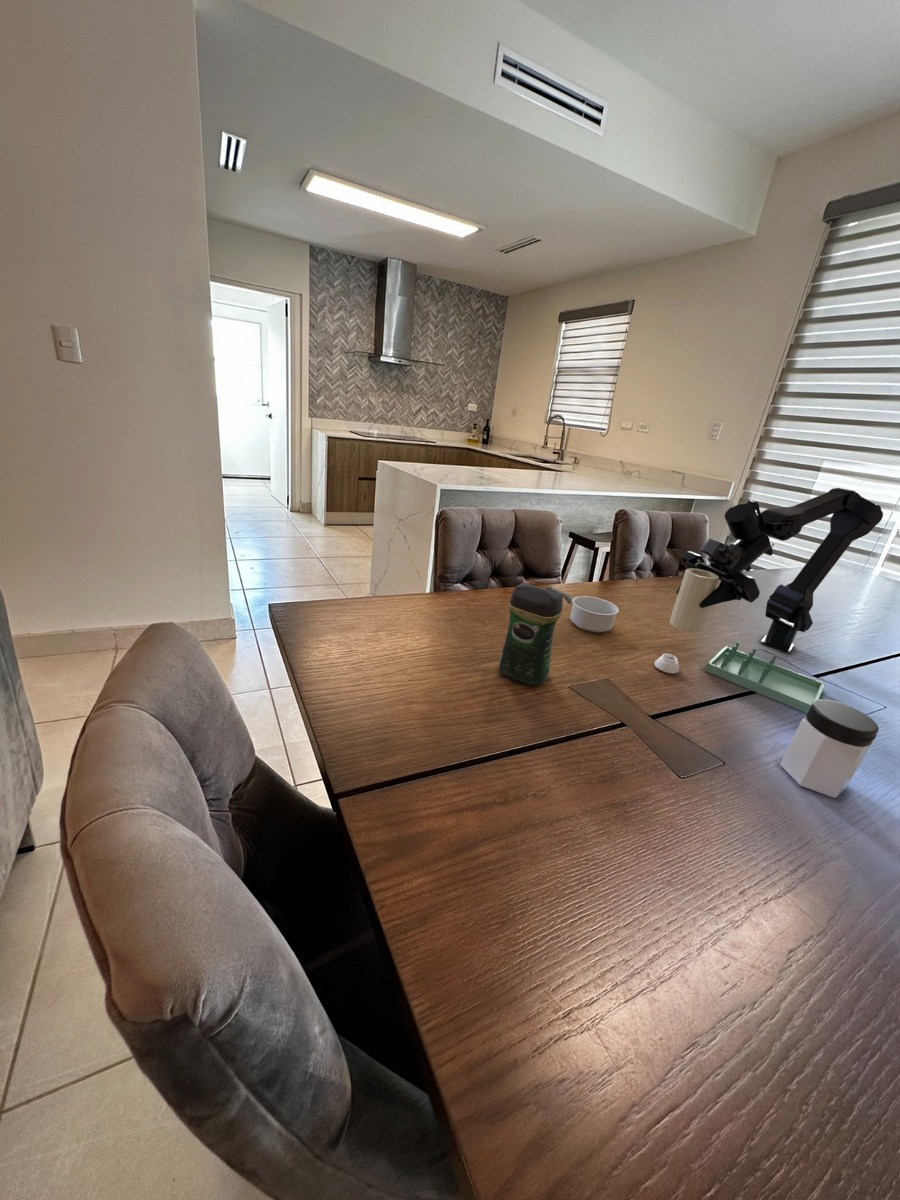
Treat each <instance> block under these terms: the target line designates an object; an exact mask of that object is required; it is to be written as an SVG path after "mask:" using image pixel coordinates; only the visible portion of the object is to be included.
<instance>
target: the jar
mask: <svg viewBox="0 0 900 1200" xmlns="http://www.w3.org/2000/svg"><path fill="white" fill-rule="evenodd" d="M879 729H880V728H879V725H878V723H876V722H875V720H874V719H873V718H871V717H870V716H869V715H867V714H865V713H864V712H862V711H861V710H858V709H857V708H854V707H852V706H850V705H848V704H845V703H842V702H838V701H834V700H830V699H819V700H816V701H814V702H813V703H812V705H811V707H810V709H809V711H808V713H806V715H805V716H804V717H803V718H802V719H801V721H800V722H799V725H798V727H797V729H796V730H795V733H794V735H793V737H792V739H791V740H790V743H789V746H788V748H787V749H786V751H785V753H784V756H783V757H782V759H781V762H780V764H779V765H780V767H781V768H782V769H783V770H784V771H785V772H786V773H788V775H789V776H790V777H791V778H792V779H793V780H794V781H795V782H796V783H797V784H798V785H799V786H800V787H803V788H806V789H808V790H810V791H811V790H812V791H814V792H817V793H818V794H819V793H820V794H822V795H825V796H827V797H830V798H837V797H838V796H839V795H840V794H842V792H843V791H844V790H846V789H847V788H848V786H849V784H850V783H851V781H852V779H853V777H854V776H855V774H856V772H858V771H857V770H858V769H859V768H860V765H861V764H862V763H863V760H864V758H865V756H866V755H867V753H868V751H869V750H870V748H871V746H872V744H873V743H874V740H875V739H876V737H877V735H878V733H879Z"/></svg>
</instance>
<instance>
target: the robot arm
mask: <svg viewBox="0 0 900 1200" xmlns="http://www.w3.org/2000/svg"><path fill="white" fill-rule="evenodd" d="M830 515H832V516H831V517H830V519H829V532H828V533H827V535H826V536H825V537H824V539H823V540H822V542H821V543H820V544H819V546H818V547H817V548H816V550H815V551H814V552H813V553H812V555H811V556H810V558H809V559H808V561H807V562H806V563H805V564H804V566H803V567H802V568H801V570H800V571H799V573H798V574H797V575H796V576H795V578H794V579H793V580H792V581H791V582H790V583H788V584H785V585H784V584H778V586H776V588H775V590H774V591H773V592H772V593H771V595H769V596H768V600H767V601H766V607H765V615H764V616H765V618H769V619H770V620H772V622H771V624H770V625H769V629H768V631H767V633H766V634H765V636H764V637H763V638H762V639H761V640H760V643H761V644H764V645H766V646H769V647H771V648H773V649H777V650H780V651H783V652H785V653H791V651H792V649H793V648H794V646H795V644H794V640H795V637H796V635H797V633H798V632H801V633H806V631H809V630H810V628H811V627H812V626H813V624H814V622H813V619H812V617H811V614H810V611H811V609H812V608H813V606H814V593H815V591H816V590H817V588H818V587H819V586H820V584H821V583H822V582H823V581H824V579H825V578H826V577H827V576H828V574H829V573H830V572H831V570H833V568H834V567H835V565H836V564H837V562H838V561H839V560H840V558H841V557H842V556H843V554H844V553H845V552H846V551H847V549H848V548H849V546H850V545H851V544H852V543H853V542H854V541H856V540H858V539H860V538H862V537H865V536H867V535H869V534H870V532H872V531H873V529H874V528H875V527H876V526H877V525H879V524H880V522H881V521H882V519H883V518H884V512H883V511H882V507H881V505H880V504H876V503H874V502H872V501H870V500H868V499H866V498H865V497H863V496H862V495H861V494H860V493H858V492H856V491H855V490H851V489H847V488H841V487H833V488H831V489H829V491H827V492H825V493H823V494H819V495H818V496H814V497H811V498H810V499H807V500H805V501H802V502H800V503H797V504H795V505H793V506H776V507H772V508H766V509H765V510H763V511H761V509H760V504H759V502H758V501H754V500H747V502H746V503H739V504H736V505H734V506H731V507H729V508H728V509H727V510H726V511H725V513H724V520H725V522H726V525H727V527H728V529H729V531H730V534H731V536H732V538H733V539H735V540H736V541H735V542H734V543H730V544H724V543H723V542H720V541H717V540H715V539H712V538H709V537H708V538H707V539H706V540H705V542H704V543H703V544H702V546H701V548H700V549H699V551H700V552H701V553H704V555H706V556H707V558H706V559H707V562H708V563H710V564H707V563H706V562H705V559H704V557H703V556H702V555H701V554H698V553H696V552H694V551H689V550H688V551H685V552H684V553H683V554H682V555H681V556H680V557H679V558H680V560H681V562H682V564H683V566H684V567H685V570H686V569H690V568H694V569H701V570H705V571H709V572H712V573H714V574H716V575H717V576H718V577H719V579H718V581H719V580H720V582H719V585H718V586H716V588H715V590H714V591H713V592H712V593H711V594H709V595H708V596H707V597H706V598H705V599H704V600H703V601H702V602H701V603H700V604H699V605H700V607H701V608H704V607H708V606H709V607H711V606H715V605H718V604H722V603H726V602H731V601H741V600H744V601H746V602H748V603H753V602H754V601H756V600H757V599H759V596H760V594H761V591H760V589H759V586H758V584H757V581H756V579H755V577H753V576H750V575H748V574H746V573H743V572H744V571H745V572H747V573H749V572H750V571H751V570H752V566H751V565H752V564H753V563H755V562H756V561H757V560H758V559H759V558H760V557H761V556H762V555H767V556H770V557H771V556H773V554H774V546H775V543H773V542H771V540H770V538H771V539H775V540H778V541H781V542H785V541H789V540H790V539H791V538H793V537H795V536H796V535H798V534H800V533H801V531H802V529H803V527H804V526H806V525H808V524H811V523H814V522H815V521H817V520H820V519H822V518H825V517H827V516H830ZM681 584H682V582H680V585H679V587H678V588H677V590H676V594H677V595H678V593H679V590H680V587H681ZM709 607H708V608H709Z"/></svg>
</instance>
